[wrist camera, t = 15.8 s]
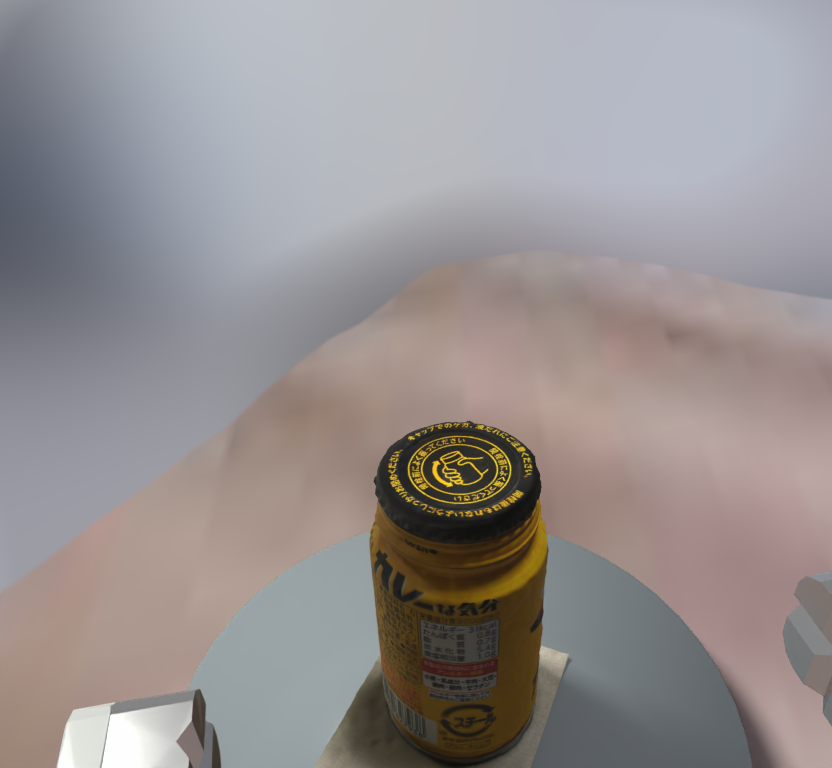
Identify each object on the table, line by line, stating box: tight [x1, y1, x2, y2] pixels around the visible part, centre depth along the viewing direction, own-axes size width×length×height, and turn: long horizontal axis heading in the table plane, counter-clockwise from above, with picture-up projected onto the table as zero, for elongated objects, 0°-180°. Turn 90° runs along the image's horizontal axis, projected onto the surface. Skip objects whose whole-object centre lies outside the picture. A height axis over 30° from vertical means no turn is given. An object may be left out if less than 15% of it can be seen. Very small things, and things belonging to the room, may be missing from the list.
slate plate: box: [187, 532, 753, 768], centre depth 31 cm, size 22×22×2 cm
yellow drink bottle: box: [314, 421, 569, 768], centre depth 27 cm, size 7×8×12 cm
